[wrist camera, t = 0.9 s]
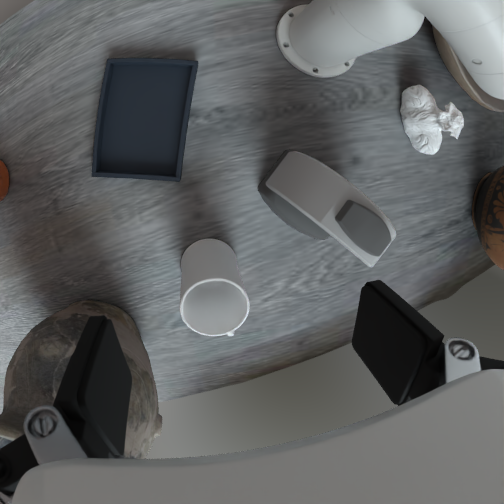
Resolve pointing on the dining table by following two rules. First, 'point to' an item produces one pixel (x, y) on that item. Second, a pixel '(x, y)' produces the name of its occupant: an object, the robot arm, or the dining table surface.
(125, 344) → the clay pot
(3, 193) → the small bowl
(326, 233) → the alarm clock
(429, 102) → the bust
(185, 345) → the dining table surface
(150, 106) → the tray
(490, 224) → the vase
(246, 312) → the mug
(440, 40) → the bowl
